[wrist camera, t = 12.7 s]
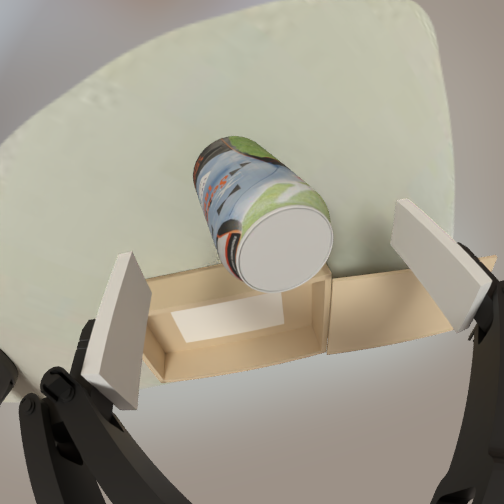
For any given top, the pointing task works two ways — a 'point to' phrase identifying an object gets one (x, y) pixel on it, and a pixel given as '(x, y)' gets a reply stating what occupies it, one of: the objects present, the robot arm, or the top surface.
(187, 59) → the top surface
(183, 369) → the box
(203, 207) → the beverage can
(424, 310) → the lid
